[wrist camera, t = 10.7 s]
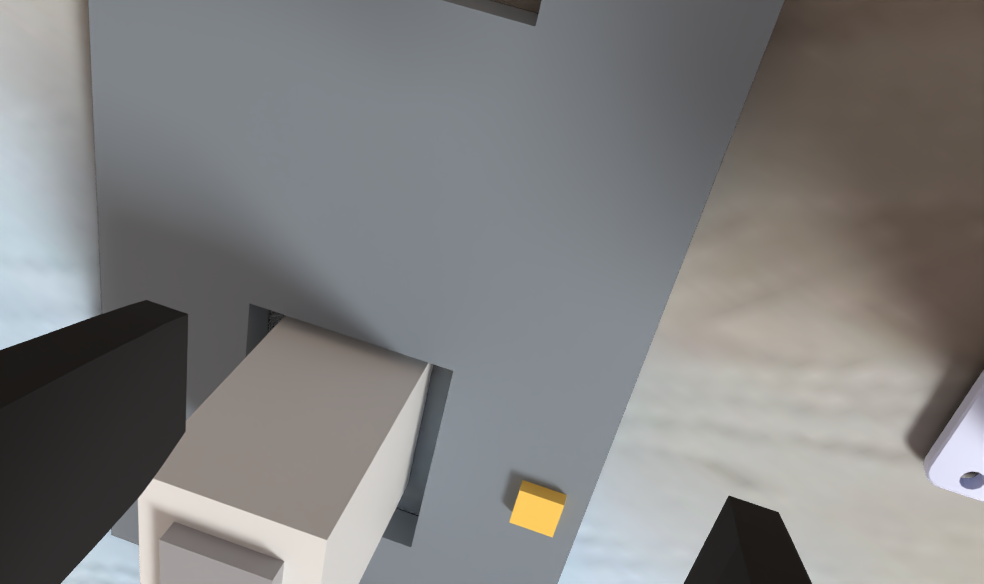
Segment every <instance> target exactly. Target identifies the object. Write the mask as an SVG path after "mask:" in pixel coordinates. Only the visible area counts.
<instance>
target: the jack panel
mask: <svg viewBox="0 0 984 584" xmlns="http://www.w3.org/2000/svg"><path fill="white" fill-rule="evenodd" d="M784 1H785V0H542V1H541V5H540V9H539V14H537V13H534V12H530V11H527V10H523V9H520V8H516V7H512V6H509V5H505V4H502V3H498V2H495V1H491V0H88V7H89V30H90V53H91V76H92V99H93V122H94V145H95V168H96V190H97V213H98V236H99V259H100V282H101V305H102V314H104V313H107V312H110V311H112V310H115V309H118V308H121V307H124V306H127V305H131V304H134V303H137V302H141V301H144V300H148V301H151V302H154V303H157V304H160V305H163V306H166V307H169V308H172V309H175V310H178V311H181V312H184V313H187V314H188V349H187V392H186V420H187V419H188V418H189V417H190V416H191V415H192V414H193V413H194V412H195V411H196V410H197V409H198V408H199V407H200V406H201V404H202V403H203V402H204V401H205V400H206V399H207V398H208V397H209V396H210V395H211V394H212V393H213V392H214V391H215V390H216V389H217V387H218V386H219V385H220V384H221V383H222V382H223V381H224V380H225V379H226V378H227V377H228V376H229V375H230V374H231V373H232V372H233V371H234V369H235V368H236V367H237V366H238V365H239V364H240V363H241V362H242V361H243V360H244V359H245V358H246V357H247V356H248V355H249V354H250V352H251V351H252V350H253V349H254V348H255V347H256V346H257V345H258V344H259V343H260V342H261V341H262V340H263V339H264V338H265V337H266V335H267V331H268V319H269V310H271V311H274V312H277V313H280V314H283V315H286V316H289V317H292V318H295V319H298V320H301V321H304V322H307V323H310V324H313V325H316V326H319V327H322V328H325V329H328V330H331V331H334V332H337V333H340V334H343V335H346V336H349V337H352V338H355V339H358V340H361V341H364V342H367V343H370V344H374V345H377V346H380V347H383V348H386V349H389V350H392V351H395V352H398V353H401V354H404V355H407V356H410V357H413V358H416V359H419V360H422V361H425V362H428V363H431V364H434V365H437V366H440V367H443V368H446V369H449V370H452V371H453V374H452V378H451V383H450V387H449V391H448V395H447V399H446V404H445V408H444V412H443V416H442V420H441V424H440V429H439V433H438V437H437V441H436V445H435V450H434V454H433V458H432V462H431V466H430V471H429V475H428V479H427V483H426V487H425V492H424V496H423V500H422V504H421V508H420V513H419V516H416V515H413V514H410V513H408V512H405V511H402V510H399V509H395V511H394V513H393V515H392V517H391V519H390V521H389V523H388V525H387V527H386V529H385V531H384V533H383V535H382V537H381V539H380V542H379V544H378V546H377V548H376V550H375V552H374V554H373V556H372V558H371V560H370V562H369V564H368V566H367V568H366V570H365V572H364V574H363V576H362V578H361V580H360V582H359V584H557V583H558V581H559V578H560V576H561V573H562V571H563V568H564V566H565V563H566V560H567V558H568V555H569V553H570V550H571V548H572V545H573V542H574V540H575V537H576V535H577V532H578V530H579V527H580V524H581V522H582V519H583V517H584V514H585V512H586V509H587V506H588V504H589V501H590V499H591V496H592V494H593V491H594V489H595V486H596V483H597V481H598V478H599V476H600V473H601V471H602V468H603V465H604V463H605V460H606V458H607V455H608V453H609V450H610V447H611V445H612V442H613V440H614V437H615V435H616V432H617V430H618V427H619V424H620V422H621V419H622V417H623V414H624V412H625V409H626V406H627V404H628V401H629V399H630V396H631V394H632V391H633V388H634V386H635V383H636V381H637V378H638V376H639V373H640V370H641V368H642V365H643V363H644V360H645V358H646V355H647V353H648V350H649V347H650V345H651V342H652V340H653V337H654V335H655V332H656V329H657V327H658V324H659V322H660V319H661V317H662V314H663V311H664V309H665V306H666V304H667V301H668V299H669V296H670V293H671V291H672V288H673V286H674V283H675V281H676V278H677V276H678V273H679V270H680V268H681V265H682V263H683V260H684V258H685V255H686V252H687V250H688V247H689V245H690V242H691V240H692V237H693V234H694V232H695V229H696V227H697V224H698V222H699V219H700V217H701V214H702V211H703V209H704V206H705V204H706V201H707V199H708V196H709V193H710V191H711V188H712V186H713V183H714V181H715V178H716V175H717V173H718V170H719V168H720V165H721V163H722V160H723V157H724V155H725V152H726V150H727V147H728V145H729V142H730V140H731V137H732V134H733V132H734V129H735V127H736V124H737V122H738V119H739V116H740V114H741V111H742V109H743V106H744V104H745V101H746V98H747V96H748V93H749V91H750V88H751V86H752V83H753V80H754V78H755V75H756V73H757V70H758V68H759V65H760V63H761V60H762V57H763V55H764V52H765V50H766V47H767V45H768V42H769V39H770V37H771V34H772V32H773V29H774V27H775V24H776V21H777V19H778V16H779V14H780V11H781V9H782V6H783V4H784ZM111 535H113V536H116V537H118V538H121V539H124V540H127V541H129V542H132V543H135V544H137V545H139V524H138V499H137V500H136V501H135V502H134V504H133V505H132V506H131V507H130V508H129V509H128V510H127V511H126V513H125V514H124V515H123V516H122V517H121V518H120V519H119V520H118V521H117V522H116V524H115V525H114V526H113V527H112V528H111Z"/></svg>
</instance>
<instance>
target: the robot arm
mask: <svg viewBox="0 0 984 584" xmlns="http://www.w3.org/2000/svg"><path fill="white" fill-rule="evenodd" d="M187 349H188V314H187V313H184V312H181V311H178V310H175V309H172V308H169V307H166V306H163V305H160V304H157V303H154V302H151V301H148V300H144V301H141V302H137V303H134V304H131V305H127V306H124V307H121V308H118V309H115V310H112V311H110V312H107V313H104V314H101V315H98V316H95V317H92V318H90V319H87V320H84V321H81V322H78V323H76V324H73V325H70V326H67V327H65V328H62V329H59V330H56V331H53V332H51V333H48V334H45V335H42V336H39V337H37V338H34V339H31V340H28V341H25V342H22V343H20V344H17V345H14V346H11V347H8V348H5V349H3V350H0V584H61V582H62V581H63V580H64V579H65V578H66V577H67V576H68V575H69V574H70V573H71V572H72V571H73V569H74V568H75V567H76V566H77V565H78V564H79V563H80V562H81V561H82V560H83V559H84V558H85V556H86V555H87V554H88V553H89V552H90V551H91V550H92V549H93V548H94V547H95V546H96V545H97V543H98V542H99V541H100V540H101V539H102V538H103V537H104V536H105V535H106V533H107V532H108V531H109V530H110V529H111V528H112V527H113V526H114V525H115V524H116V522H117V521H118V520H119V519H120V518H121V517H122V516H123V515H124V514H125V513H126V511H127V510H128V509H129V508H130V507H131V506H132V505H133V504H134V502H135V501H136V500H137V499H138V498H139V497H140V496H141V494H142V493H143V492H144V490H145V489H146V488H147V486H148V485H149V484H150V482H151V481H152V479H153V478H154V477H155V475H156V474H157V473H158V471H159V470H160V468H161V467H162V466H163V464H164V463H165V461H166V460H167V458H168V457H169V455H170V454H171V452H172V451H173V449H174V448H175V447H176V445H177V444H178V442H179V441H180V439H181V438H182V436H183V435H184V433H185V432H186V392H187ZM923 465H924V470H925V473H926V476H927V478H928V480H929V481H930V482H931V483H932V484H934V485H935V486H937V487H939V488H942V489H945V490H949V491H952V492H955V493H958V494H961V495H964V496H967V497H970V498H973V499H976V500H979V501H982V502H984V370H983V371H982V373H981V374H980V376H979V377H978V379H977V380H976V382H975V383H974V385H973V386H972V388H971V389H970V391H969V392H968V394H967V395H966V397H965V398H964V400H963V401H962V403H961V404H960V406H959V407H958V409H957V410H956V412H955V413H954V415H953V416H952V418H951V419H950V421H949V422H948V424H947V425H946V427H945V428H944V430H943V431H942V433H941V434H940V436H939V437H938V439H937V440H936V442H935V443H934V445H933V446H932V448H931V449H930V451H929V452H928V454H927V455H926V457H925V460H924V462H923ZM971 471H972V472H979V474H978V475H976V476H975V477H972V478H962V477H961V476H962V475H963V474H965V473H968V472H971ZM684 584H812V582H811V580H810V578H809V576H808V574H807V572H806V570H805V567H804V565H803V563H802V561H801V559H800V557H799V554H798V552H797V550H796V548H795V546H794V544H793V542H792V539H791V537H790V535H789V533H788V531H787V529H786V527H785V525H784V523H783V521H782V518H781V516H780V514H779V512H776V511H773V510H770V509H767V508H764V507H761V506H758V505H755V504H752V503H749V502H746V501H743V500H740V499H737V498H734V497H731V496H728V498H727V500H726V502H725V504H724V506H723V508H722V510H721V512H720V514H719V516H718V518H717V520H716V522H715V524H714V526H713V528H712V529H711V531H710V533H709V535H708V537H707V539H706V541H705V543H704V545H703V547H702V549H701V551H700V553H699V555H698V557H697V559H696V561H695V563H694V565H693V567H692V568H691V570H690V572H689V574H688V576H687V578H686V580H685V582H684Z"/></svg>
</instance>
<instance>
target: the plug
mask: <svg viewBox="0 0 984 584" xmlns="http://www.w3.org/2000/svg"><path fill="white" fill-rule="evenodd" d="M432 368H433V364H431V363H428V362H425V361H422V360H419V359H416V358H413V357H410V356H407V355H404V354H401V353H398V352H395V351H392V350H389V349H386V348H383V347H380V346H377V345H374V344H370V343H367V342H364V341H361V340H358V339H355V338H352V337H349V336H346V335H343V334H340V333H337V332H334V331H331V330H328V329H325V328H322V327H319V326H316V325H313V324H310V323H307V322H304V321H301V320H298V319H295V318H292V317H289V316H286V315H285V316H284V317H283V318H282V320H281V321H280V322H279V323H278V324H277V325H276V326H275V327H274V328H273V329H272V330H271V331H270V332H269V333H268V334H267V335H266V337H265V338H264V339H263V340H262V341H261V342H260V343H259V344H258V345H257V346H256V347H255V348H254V349H253V350H252V351H251V352H250V354H249V355H248V356H247V357H246V358H245V359H244V360H243V361H242V362H241V363H240V364H239V365H238V366H237V367H236V368H235V369H234V371H233V372H232V373H231V374H230V375H229V376H228V377H227V378H226V379H225V380H224V381H223V382H222V383H221V384H220V385H219V386H218V387H217V389H216V390H215V391H214V392H213V393H212V394H211V395H210V396H209V397H208V398H207V399H206V400H205V401H204V402H203V403H202V404H201V406H200V407H199V408H198V409H197V410H196V411H195V412H194V413H193V414H192V415H191V416H190V417H189V418H188V419H187V420H186V432H185V433H184V435H183V436H182V438H181V439H180V441H179V442H178V444H177V445H176V447H175V448H174V449H173V451H172V452H171V454H170V455H169V457H168V458H167V460H166V461H165V463H164V464H163V466H162V467H161V468H160V470H159V471H158V473H157V474H156V475H155V477H154V478H153V479H152V481H151V482H150V484H149V485H148V486H147V488H146V489H145V490H144V492H143V493H142V494H141V496H140V497H139V498H138V524H139V560H140V584H359V582H360V580H361V578H362V576H363V574H364V572H365V570H366V568H367V566H368V564H369V562H370V560H371V558H372V556H373V554H374V552H375V550H376V548H377V546H378V544H379V542H380V539H381V537H382V535H383V533H384V531H385V529H386V527H387V525H388V523H389V521H390V519H391V517H392V515H393V513H394V511H395V509H396V507H397V505H398V503H399V501H400V499H401V497H402V495H403V493H404V491H405V489H406V487H407V485H408V481H409V477H410V472H411V467H412V463H413V458H414V453H415V448H416V444H417V439H418V434H419V430H420V425H421V420H422V415H423V411H424V406H425V401H426V396H427V392H428V387H429V382H430V378H431V373H432Z"/></svg>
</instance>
